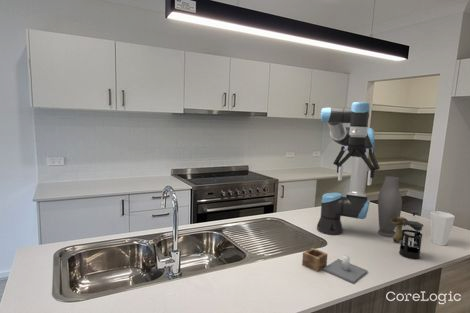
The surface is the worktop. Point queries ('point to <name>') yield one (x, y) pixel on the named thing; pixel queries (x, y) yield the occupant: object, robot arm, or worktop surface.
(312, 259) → the collar
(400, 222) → the mushroom
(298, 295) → the worktop surface
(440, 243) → the cup
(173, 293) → the worktop surface
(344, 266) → the grey plate with knob
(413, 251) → the french press
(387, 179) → the vase
